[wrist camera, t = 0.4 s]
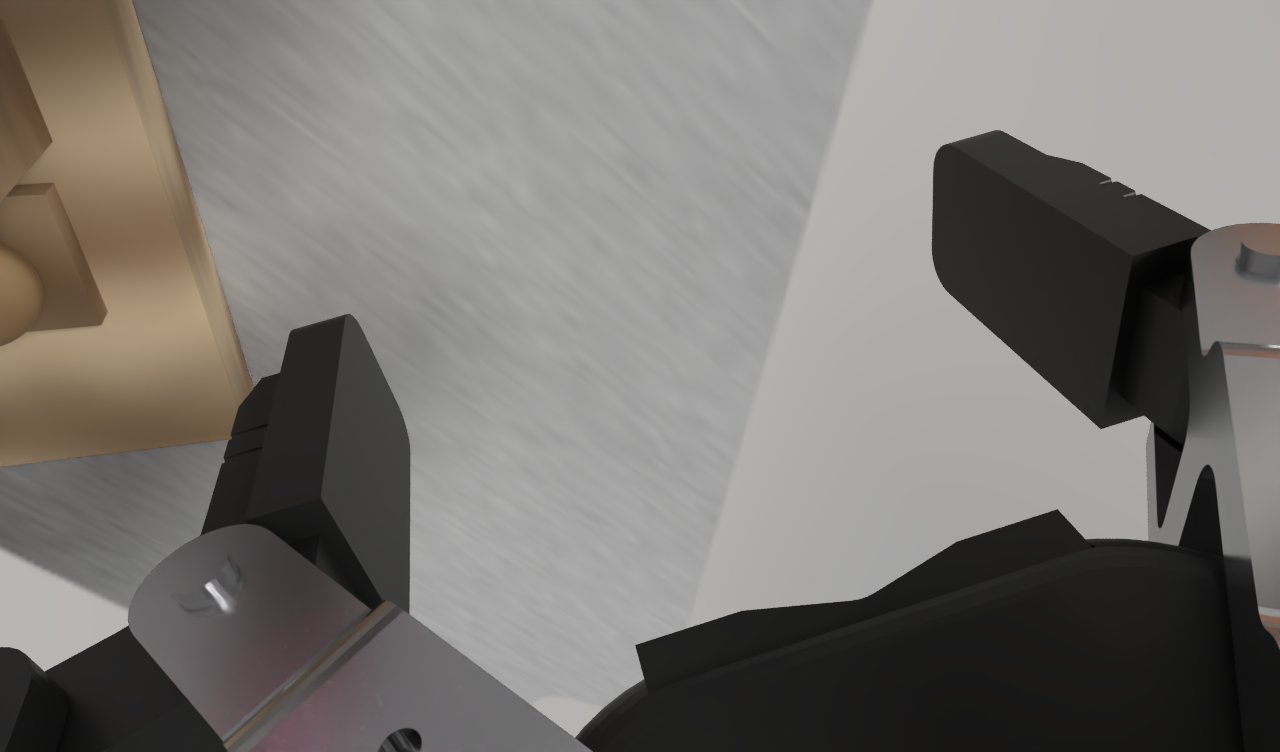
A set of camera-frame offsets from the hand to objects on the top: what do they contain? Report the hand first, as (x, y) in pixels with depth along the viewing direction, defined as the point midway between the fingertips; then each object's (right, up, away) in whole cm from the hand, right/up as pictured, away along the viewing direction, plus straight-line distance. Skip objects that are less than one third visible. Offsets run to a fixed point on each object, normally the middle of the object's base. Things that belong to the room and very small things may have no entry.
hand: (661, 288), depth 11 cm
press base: (-20, +5, +15) cm, 25 cm away
